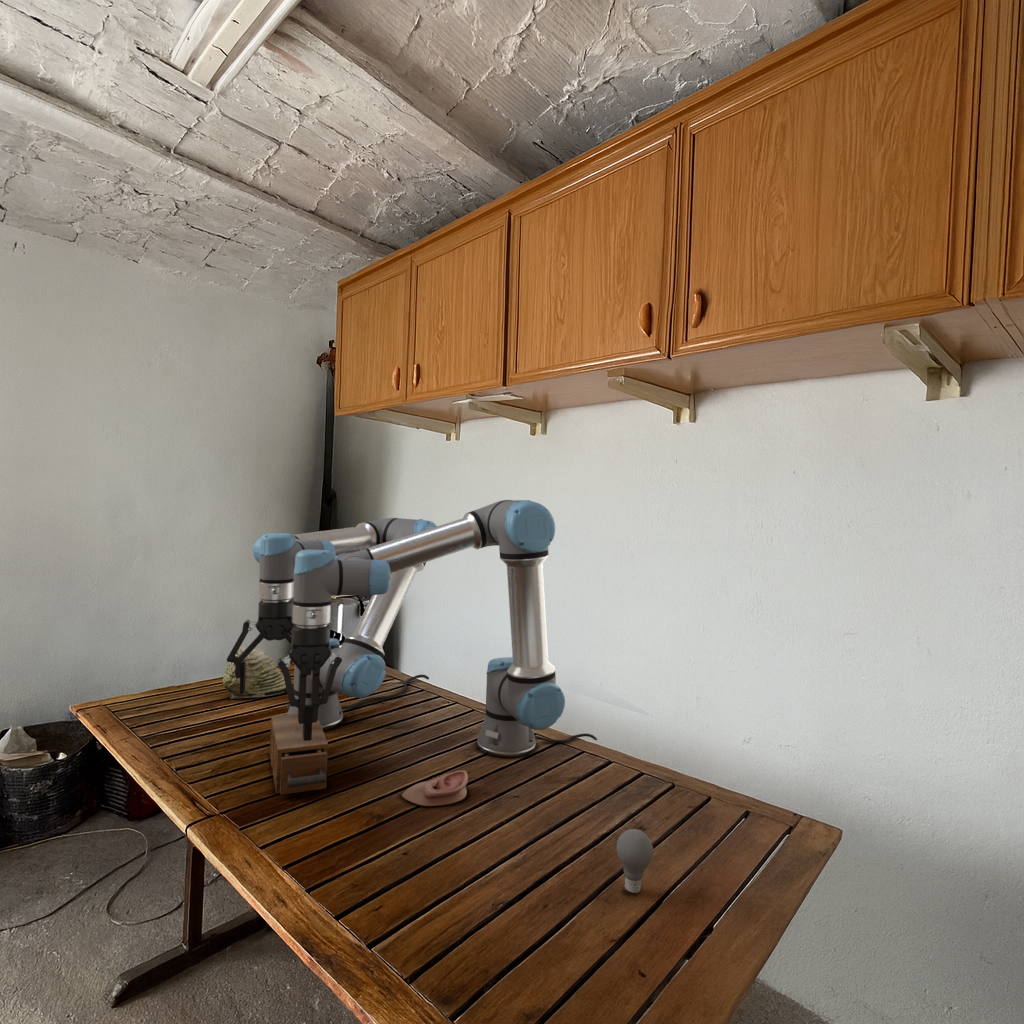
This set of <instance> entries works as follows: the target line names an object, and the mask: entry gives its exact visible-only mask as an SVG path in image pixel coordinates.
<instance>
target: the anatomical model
mask: <svg viewBox="0 0 1024 1024" xmlns="http://www.w3.org/2000/svg"><path fill="white" fill-rule="evenodd" d="M468 781H469V776H468V772H467V771H466V770H464V769H462V770H461V769H459V770H455V771H452V772H449V773H445V774H443V775H441V776H438V777H435V778H433V779H430V780H428V781H421V782H418V783H416V784H414V785H412V786H410V787H408V788H407V789H405V790H404V791H403V792H402V794H401V797H402V798H403V799H404V800H406V801H408V802H410V803H412V804H415V805H418V806H422V807H435V806H444V805H451V804H454V803H457V802H460V801H462V800H464V799H465V798H466V797H467V793H468V792H467V791H468V790H467V787H466V786H467V784H468Z"/></svg>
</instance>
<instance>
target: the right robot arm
mask: <svg viewBox="0 0 1024 1024" xmlns="http://www.w3.org/2000/svg"><path fill="white" fill-rule="evenodd" d="M436 526H437V527H433V528H430V529H427V530H424V531H421V532H417V533H414V534H411V535H408V536H405V537H401V538H398V539H395V540H392V541H389V542H385V543H382V544H379V545H376V546H373V547H369V548H367V549H363V550H360V551H357V552H353V553H352V552H347V553H342V554H340V555H338V556H336V558H335V559H334V558H333V553H332V552H331V551H328V550H301V551H299V552H298V553H297V554H296V557H295V568H294V588H293V598H292V601H293V615H292V623H293V624H295V625H294V626H293V627H292V630H291V633H292V642H291V643H290V648H289V650H288V653H287V655H285V656H284V657H282V658H278V659H277V661H276V663H277V666H278V669H279V670H280V672H281V673H282V675H283V676H284V680H285V685H286V694H287V697H288V702H289V703H290V705H291V706H292V707H297V708H298V722H299V724H303V739H304V741H308V740H312V723H314V722H317V720H318V707H319V706H320V705H322V704H326V703H327V701H328V698H329V694H330V691H331V687H332V684H333V680H334V677H335V673H336V670H337V668H338V666H339V665H340V664H341V662H342V659H341V657H340V656H339V655H335V654H333V653H332V650H331V648H330V645H329V642H330V638H331V626H330V625H329V624H330V623H331V609H332V608H331V607H332V596H336V597H339V596H371V597H372V596H373V595H379V594H385V593H386V592H387V591H388V590H389V586H390V578H391V575H390V574H392V573H395V572H398V571H401V570H404V569H407V568H410V567H413V566H416V565H419V564H422V563H425V562H426V563H427V562H431V561H434V560H437V559H440V558H443V557H446V556H449V555H452V554H456V553H459V552H461V551H464V550H467V549H471V548H473V549H475V550H480V549H484V548H487V547H495V546H498V549H499V559H500V561H502V562H503V563H504V564H505V565H506V575H507V590H508V591H507V592H508V607H509V625H510V636H511V637H510V638H511V639H510V640H511V653H512V656H506V657H505V656H504V657H495V658H492V659H490V660H489V661H488V663H487V670H486V692H485V713H484V719H483V722H482V724H481V727H480V729H479V732H478V735H477V739H476V741H477V743H476V746H477V748H478V750H479V751H481V752H482V753H485V754H487V755H490V756H494V757H499V758H518V757H524V756H527V755H531V754H532V753H533V752H534V751H535V750H536V745H537V744H536V740H540V741H543V742H548V743H556V744H557V743H558V744H564V743H568V742H570V741H572V739H578V738H582V737H588V738H591V739H593V740H594V741H598V738H597V736H595V735H593V734H591V733H579V734H573V735H570V736H568V737H567V738H564V739H554V738H547V737H544V736H538V735H535V732H534V730H536V731H542V730H546V729H548V728H550V727H552V726H553V725H555V724H556V723H557V722H558V720H559V719H560V718H561V717H562V715H563V713H564V710H565V706H566V698H565V697H566V696H565V693H564V692H563V689H562V688H561V687H560V686H559V685H558V684H557V676H556V666H555V665H554V664H552V663H551V662H550V661H549V648H548V647H549V646H548V630H547V614H546V598H545V595H546V594H545V581H544V580H545V578H544V563H545V561H546V560H547V559H548V558H549V556H550V554H549V546H550V545H551V543H552V541H554V538H555V536H556V523H555V519H554V517H553V514H552V513H551V511H550V510H549V509H548V508H547V507H545V506H544V505H543V504H541V503H539V502H536V501H533V500H531V499H530V500H529V499H516V500H515V499H503V500H498V501H496V502H493V503H490V504H487V505H485V506H482V507H480V508H477V509H474V510H471V511H468V512H465V513H464V515H463V517H462V518H459V519H456V520H453V521H450V522H447V523H443V524H439V525H436ZM328 658H330V659H329V663H330V665H329V668H328V671H327V675H326V678H325V682H324V685H323V689H322V693H321V696H320V697H319V679H320V668H321V667H322V666H323V665H324V664H325V662H326V661H327V660H328ZM291 661H292V663H293V665H294V664H295V665H296V667H297V668H298V669H299V693H298V699H295V695H294V685H293V682H292V681H293V680H292V677H291V673H290V669H289V668H290V667H291ZM308 670H312V691H311V705H305V704H306V680H307V671H308Z"/></svg>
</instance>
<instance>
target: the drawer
mask: <svg viewBox="0 0 1024 1024" xmlns="http://www.w3.org/2000/svg"><path fill="white" fill-rule="evenodd" d="M326 771H327V772H328V762H327V752H321V749H314V750H305V751H297V752H288V753H282V757H281V779H280V793H279V795H280V796H282V795H289V794H296V793H304V792H311V791H316V790H317V791H318V790H324V789H325V790H326V789H327V786H326Z"/></svg>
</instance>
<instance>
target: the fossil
mask: <svg viewBox="0 0 1024 1024" xmlns="http://www.w3.org/2000/svg"><path fill="white" fill-rule="evenodd" d="M247 647H248V646H246V647H245V646H240V648H239V650H238V651H237V653H236V655H235V656H237V657H239V656H240V655H241V654H242V652H243V651H244V650H245V649H246V648H247ZM226 662H227V661H226ZM242 662H246V670H245V691H244V693H240V678H236V677H235V664H234V663H232V662H227V663H226V666H225V668H224V671H223V675H222V676H223V677H222V685H223V687H224V688H225V690H226V691H228V693H229V698H230V699H250V698H264V697H271V696H275V695H281V694H284V693H285V691H287V689H286V685H285V680H284V676H283V672H282V671H281V669H280V668H279V667H277V665H276V663H275V662H274V660H273V659H272V658H271V657H270V656H269V655H268V654H267V653H266V652H265V650H264V649H263V648H260V647H258V648H254V649H253V650H252V651H251V652H250V654H249V655H248V656H247V657H246V658H245V659H244V660H243V661H242Z"/></svg>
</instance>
